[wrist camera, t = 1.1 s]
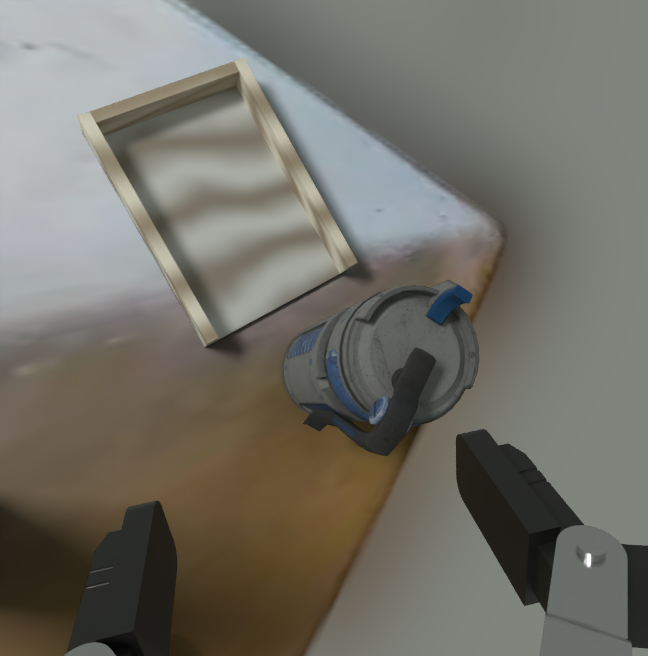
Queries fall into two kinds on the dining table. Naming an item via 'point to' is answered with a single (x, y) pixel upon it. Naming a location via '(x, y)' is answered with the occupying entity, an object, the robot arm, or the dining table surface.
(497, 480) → the robot arm
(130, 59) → the dining table surface
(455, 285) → the beverage bottle
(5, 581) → the dining table surface
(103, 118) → the cream flat rectangular tray
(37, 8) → the dining table surface
